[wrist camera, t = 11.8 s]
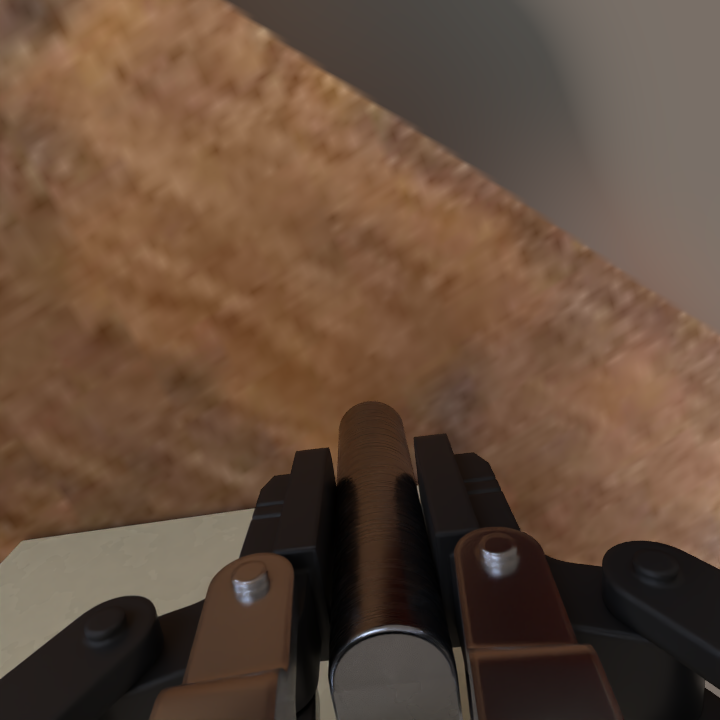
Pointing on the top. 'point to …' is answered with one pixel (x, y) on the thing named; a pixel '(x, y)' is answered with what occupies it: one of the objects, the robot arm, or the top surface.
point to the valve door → (223, 545)
